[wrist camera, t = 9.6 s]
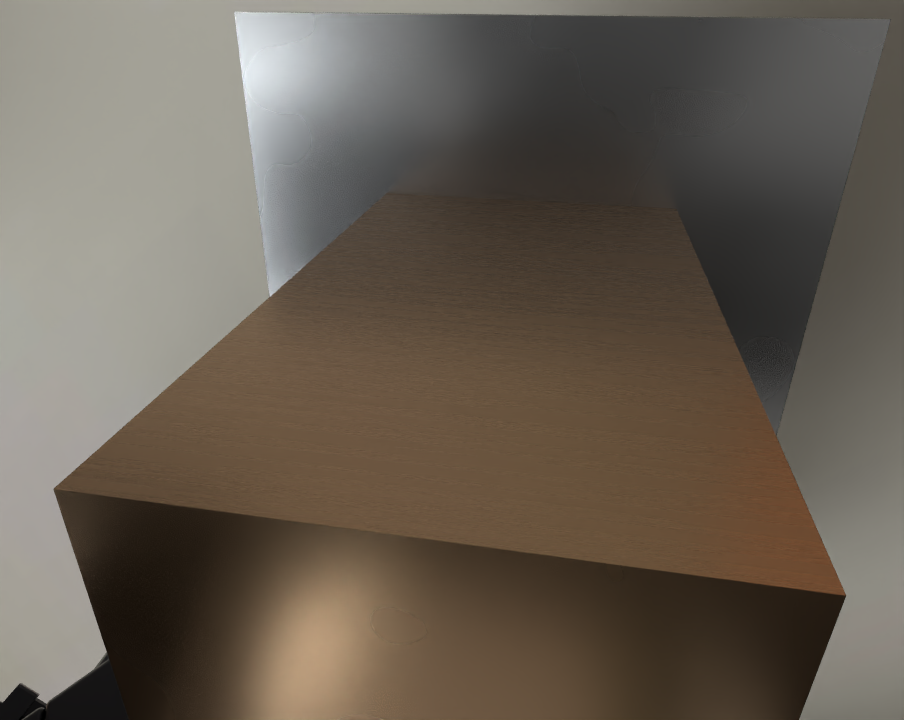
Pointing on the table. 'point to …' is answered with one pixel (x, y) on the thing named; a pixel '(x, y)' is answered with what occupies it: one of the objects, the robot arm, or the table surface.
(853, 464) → the table surface
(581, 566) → the block on grey plate
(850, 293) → the table surface
